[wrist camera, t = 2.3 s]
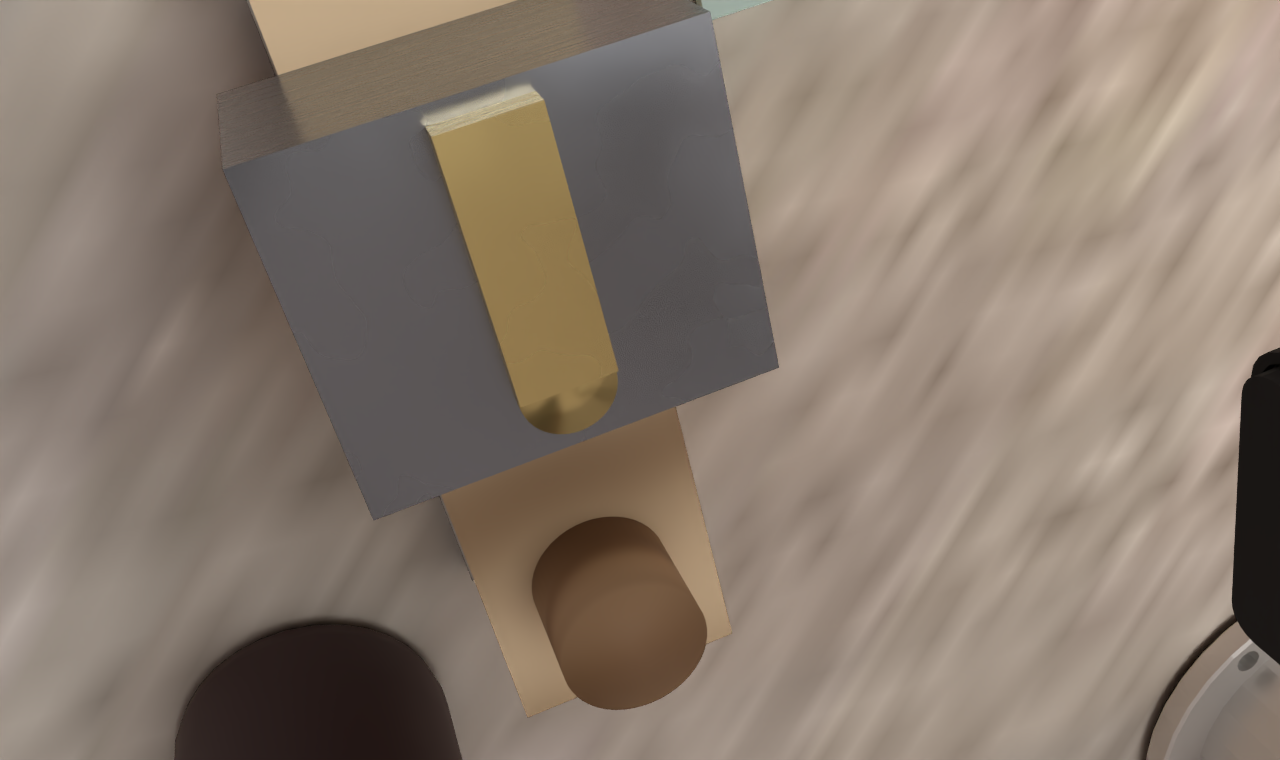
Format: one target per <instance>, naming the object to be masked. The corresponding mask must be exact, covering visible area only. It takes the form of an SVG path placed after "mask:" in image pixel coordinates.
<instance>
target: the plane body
mask: <svg viewBox="0 0 1280 760" xmlns="http://www.w3.org/2000/svg"><path fill="white" fill-rule="evenodd" d="M246 1H247V4H248V6H249V9H250V11H251V14H252V17H253V19H254V22H255V24H256V27H257V29H258V32H259V35H260V37H261V40H262V42H263V45H264V47H265V50H266V53H267V55H268V58H269V60H270V63H271V65H272V68H273V71H274V73H275V76H277V75H280V74H283V73H287V72H290V71H293V70H296V69H299V68H302V67H306V66H309V65H312V64H315V63H318V62H322V61H325V60H328V59H331V58H334V57H338V56H341V55H344V54H347V53H350V52H354V51H357V50H360V49H363V48H366V47H370V46H373V45H376V44H379V43H382V42H385V41H389V40H392V39H395V38H398V37H401V36H405V35H408V34H411V33H414V32H417V31H421V30H424V29H427V28H430V27H433V26H437V25H440V24H443V23H446V22H449V21H453V20H456V19H459V18H462V17H465V16H468V15H472V14H475V13H478V12H481V11H484V10H488V9H491V8H494V7H497V6H500V5H504V4H507V3H510V2H513V1H516V0H246ZM439 497H440V499H441V502H442V504H443V507H444V509H445V512H446V515H447V517H448V520H449V522H450V525H451V527H452V530H453V532H454V535H455V538H456V540H457V543H458V545H459V548H460V550H461V553H462V556H463V558H464V561H465V563H466V566H467V568H468V571H469V574H470V576H471V579H472V581H473V580H474V581H475V584H476V586H477V589H478V591H479V594H480V596H481V599H482V602H483V604H484V607H485V609H486V612H487V615H488V617H489V620H490V622H491V625H492V627H493V630H494V633H495V635H496V638H497V640H498V643H499V645H500V648H501V651H502V653H503V656H504V658H505V661H506V663H507V666H508V669H509V671H510V674H511V676H512V679H513V681H514V684H515V687H516V689H517V692H518V694H519V697H520V699H521V702H522V705H523V707H524V710H525V712H526V715H527V717H531V716H533V715H535V714H538V713H540V712H543V711H545V710H548V709H550V708H552V707H555V706H557V705H560V704H562V703H565V702H567V701H569V700H572V699H574V698H577V697H578V698H579V699H581V700H582V701H584V702H586V703H588V704H590V705H592V706H595V707H598V708H603V709H611V710H622V709H631V708H636V707H640V706H643V705H646V704H649V703H652V702H654V701H656V700H658V699H660V698H662V697H664V696H665V695H667V694H669V693H670V692H672V691H673V690H674V689H676V688H677V687H678V686H679V685H681V684H682V683H683V682H684V681H685V680H686V679H687V678H688V677H689V676H690V674H691V673H692V672H693V670H694V669H695V668H696V666H697V664H698V663H699V661H700V659H701V657H702V655H703V652H704V649H705V646H706V644H708V643H710V642H713V641H715V640H717V639H720V638H722V637H725V636H727V635H730V634H732V630H731V626H730V622H729V618H728V614H727V610H726V606H725V602H724V598H723V594H722V590H721V586H720V582H719V578H718V574H717V570H716V566H715V562H714V558H713V554H712V550H711V546H710V542H709V538H708V534H707V530H706V526H705V522H704V518H703V514H702V510H701V506H700V502H699V498H698V494H697V490H696V486H695V482H694V478H693V474H692V470H691V467H690V463H689V459H688V455H687V451H686V447H685V443H684V439H683V435H682V431H681V427H680V423H679V419H678V415H677V411H676V407H673V408H670V409H668V410H665V411H662V412H660V413H657V414H654V415H652V416H649V417H646V418H644V419H641V420H638V421H636V422H633V423H630V424H628V425H625V426H623V427H620V428H617V429H615V430H612V431H609V432H607V433H604V434H601V435H599V436H596V437H593V438H591V439H588V440H585V441H583V442H580V443H577V444H575V445H572V446H569V447H567V448H564V449H562V450H559V451H556V452H554V453H551V454H548V455H546V456H543V457H540V458H538V459H535V460H532V461H530V462H527V463H524V464H522V465H519V466H516V467H514V468H511V469H508V470H506V471H503V472H501V473H498V474H495V475H493V476H490V477H487V478H485V479H482V480H479V481H477V482H474V483H471V484H469V485H466V486H463V487H461V488H458V489H455V490H453V491H450V492H448V493H445V494H442V495H440V496H439Z"/></svg>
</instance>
